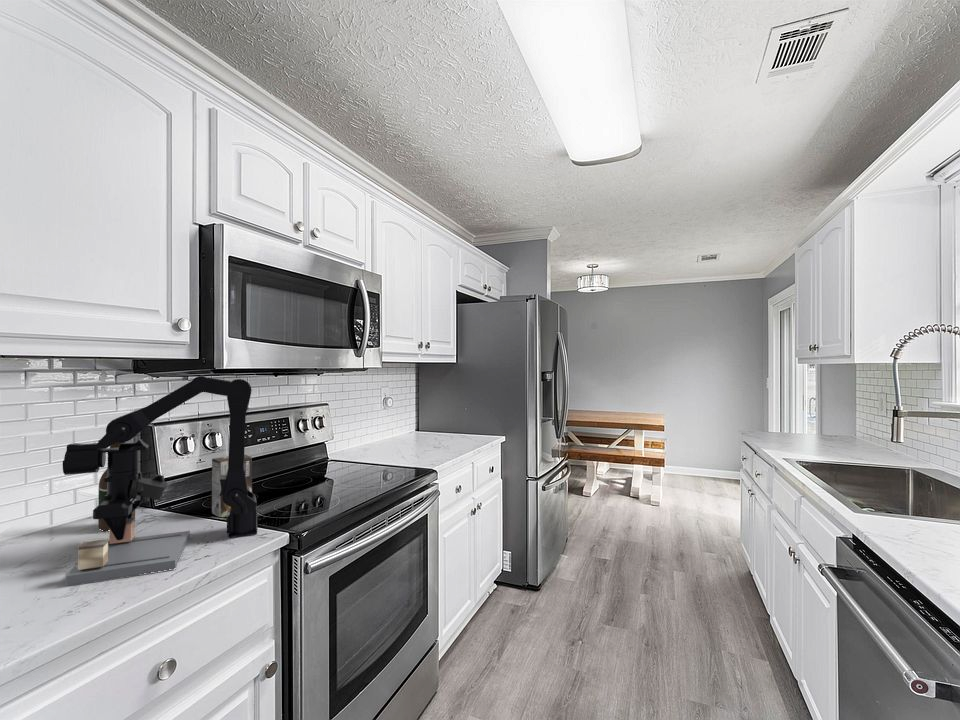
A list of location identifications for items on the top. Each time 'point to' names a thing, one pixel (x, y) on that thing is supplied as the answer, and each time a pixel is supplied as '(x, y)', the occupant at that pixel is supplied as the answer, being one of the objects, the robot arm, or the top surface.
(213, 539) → the top surface
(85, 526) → the top surface
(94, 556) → the block
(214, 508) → the coffee box
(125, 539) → the block
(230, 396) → the robot arm
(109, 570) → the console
